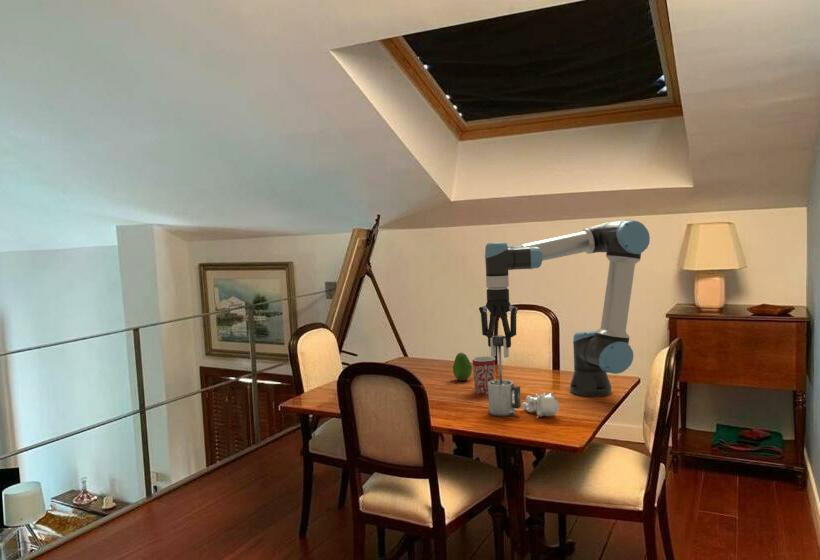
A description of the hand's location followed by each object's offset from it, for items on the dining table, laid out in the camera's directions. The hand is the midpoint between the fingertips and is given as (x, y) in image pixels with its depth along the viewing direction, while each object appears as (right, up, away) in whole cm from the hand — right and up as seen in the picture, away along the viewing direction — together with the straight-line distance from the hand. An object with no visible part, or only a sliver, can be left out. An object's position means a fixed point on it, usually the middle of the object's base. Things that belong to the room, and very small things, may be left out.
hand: (499, 356), depth 210 cm
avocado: (-8, -17, +51) cm, 54 cm away
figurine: (+14, -20, -2) cm, 24 cm away
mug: (-2, -18, +31) cm, 36 cm away
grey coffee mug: (+1, -20, +1) cm, 20 cm away
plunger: (0, -10, +1) cm, 10 cm away
